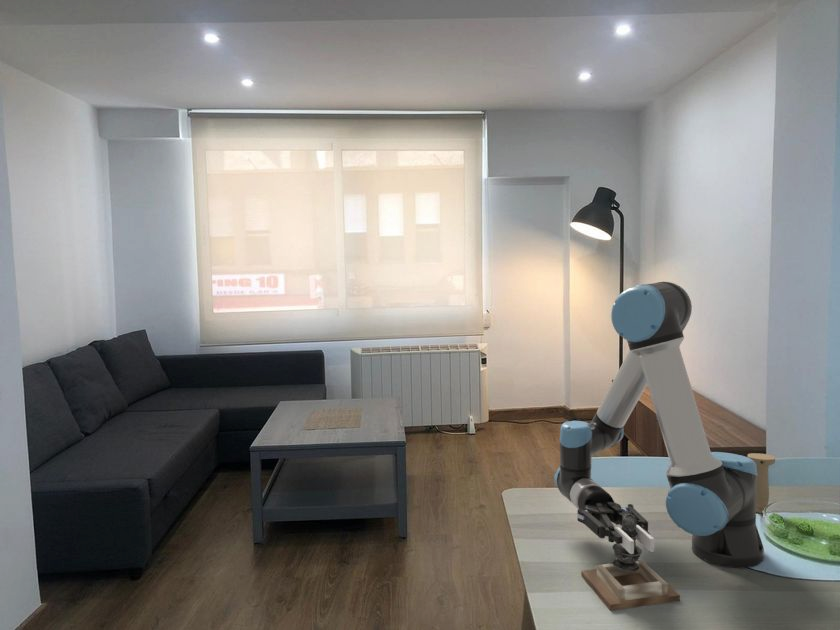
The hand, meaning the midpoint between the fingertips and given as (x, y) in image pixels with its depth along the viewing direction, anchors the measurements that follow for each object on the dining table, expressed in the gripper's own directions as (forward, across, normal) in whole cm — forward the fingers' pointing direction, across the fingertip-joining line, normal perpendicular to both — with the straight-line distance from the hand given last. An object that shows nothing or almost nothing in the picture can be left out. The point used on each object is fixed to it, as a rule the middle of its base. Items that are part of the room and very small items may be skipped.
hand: (642, 546), depth 133 cm
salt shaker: (-6, 0, -7) cm, 9 cm away
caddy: (-6, 0, -12) cm, 13 cm away
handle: (-33, -51, -12) cm, 62 cm away
